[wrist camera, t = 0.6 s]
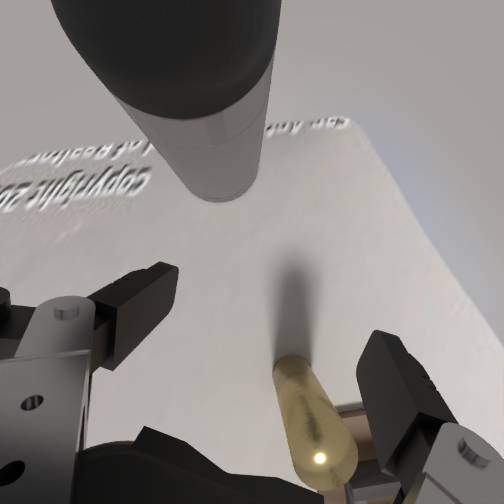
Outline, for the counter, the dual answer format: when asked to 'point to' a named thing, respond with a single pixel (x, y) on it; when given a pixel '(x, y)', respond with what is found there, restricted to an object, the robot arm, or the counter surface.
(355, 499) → the mounting plate
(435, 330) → the counter surface
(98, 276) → the counter surface
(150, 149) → the counter surface
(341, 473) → the post
